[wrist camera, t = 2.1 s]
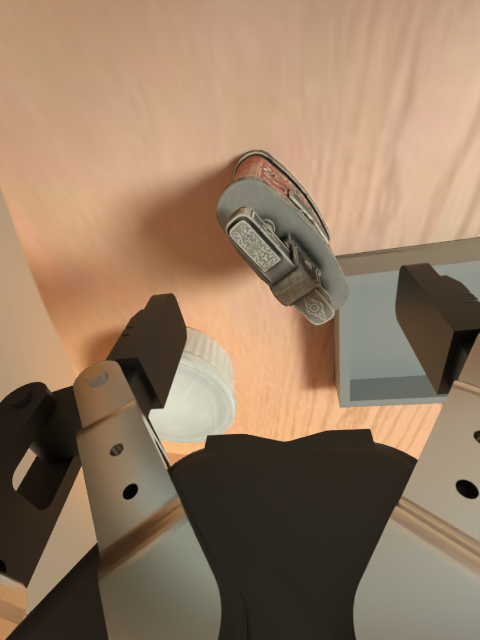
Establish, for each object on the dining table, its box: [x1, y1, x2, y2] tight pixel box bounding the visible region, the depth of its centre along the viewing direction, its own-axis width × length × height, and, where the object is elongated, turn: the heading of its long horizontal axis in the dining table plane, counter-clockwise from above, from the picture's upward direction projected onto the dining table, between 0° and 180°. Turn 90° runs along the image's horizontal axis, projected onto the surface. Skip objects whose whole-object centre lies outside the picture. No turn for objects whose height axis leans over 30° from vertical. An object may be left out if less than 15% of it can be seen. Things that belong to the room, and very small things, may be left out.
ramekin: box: [148, 327, 237, 443], centre depth 28 cm, size 11×11×5 cm
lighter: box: [217, 150, 349, 325], centre depth 17 cm, size 8×3×10 cm, turn 44°
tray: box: [334, 237, 480, 408], centre depth 24 cm, size 14×13×3 cm
